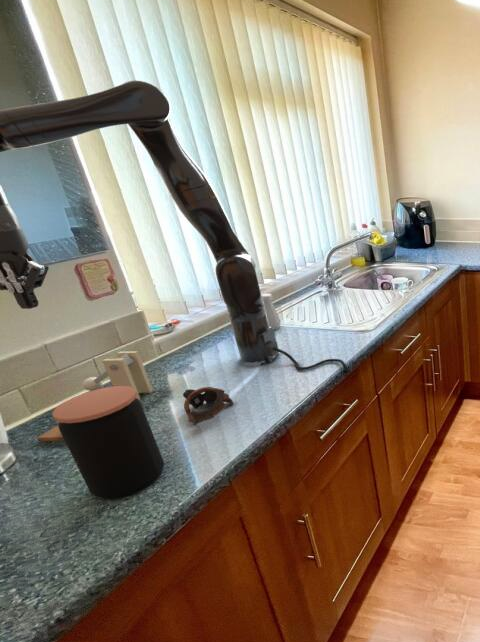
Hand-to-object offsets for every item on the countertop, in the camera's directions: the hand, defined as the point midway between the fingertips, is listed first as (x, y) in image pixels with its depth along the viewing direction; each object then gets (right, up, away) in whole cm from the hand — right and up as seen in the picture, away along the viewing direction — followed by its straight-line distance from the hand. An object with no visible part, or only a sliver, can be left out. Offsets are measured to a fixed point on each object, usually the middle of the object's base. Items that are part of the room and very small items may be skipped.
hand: (30, 307), depth 89 cm
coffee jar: (+33, -34, -11) cm, 49 cm away
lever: (+7, -17, +12) cm, 22 cm away
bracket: (+11, -23, +14) cm, 29 cm away
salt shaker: (+19, -6, +59) cm, 62 cm away
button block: (+10, -28, +2) cm, 30 cm away
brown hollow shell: (+33, -26, +9) cm, 43 cm away
